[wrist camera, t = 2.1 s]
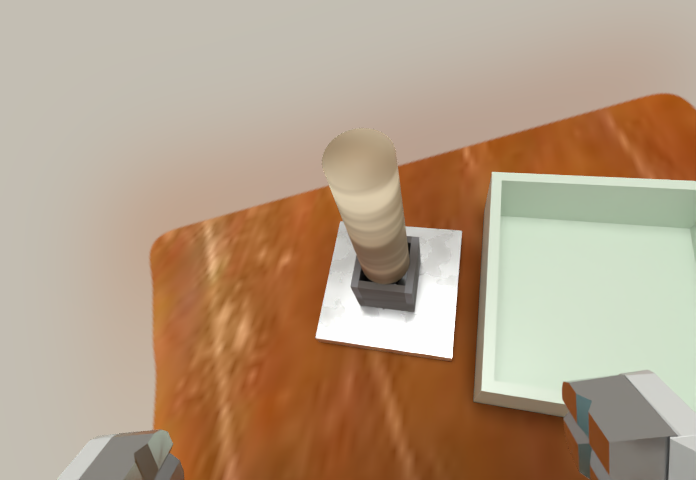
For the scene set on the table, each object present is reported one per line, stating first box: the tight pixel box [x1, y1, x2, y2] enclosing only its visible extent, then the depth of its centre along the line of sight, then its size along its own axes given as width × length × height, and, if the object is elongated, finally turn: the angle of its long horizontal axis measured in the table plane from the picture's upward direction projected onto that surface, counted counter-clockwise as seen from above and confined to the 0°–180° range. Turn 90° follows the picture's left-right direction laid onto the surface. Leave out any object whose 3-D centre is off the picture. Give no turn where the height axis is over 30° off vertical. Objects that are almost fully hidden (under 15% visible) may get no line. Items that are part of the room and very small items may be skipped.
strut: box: [322, 128, 421, 312], centre depth 31 cm, size 5×5×19 cm
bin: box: [473, 172, 696, 417], centre depth 34 cm, size 18×18×7 cm
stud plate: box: [316, 221, 462, 361], centre depth 38 cm, size 12×12×6 cm
